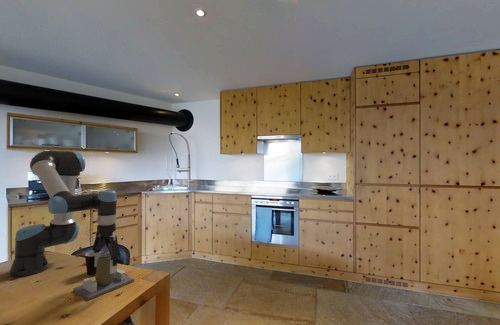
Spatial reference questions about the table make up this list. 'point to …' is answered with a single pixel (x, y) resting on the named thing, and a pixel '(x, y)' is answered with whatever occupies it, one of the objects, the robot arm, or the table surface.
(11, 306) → the table surface
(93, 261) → the coffee mug
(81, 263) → the table surface
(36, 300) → the table surface
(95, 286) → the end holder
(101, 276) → the squeeze bottle
